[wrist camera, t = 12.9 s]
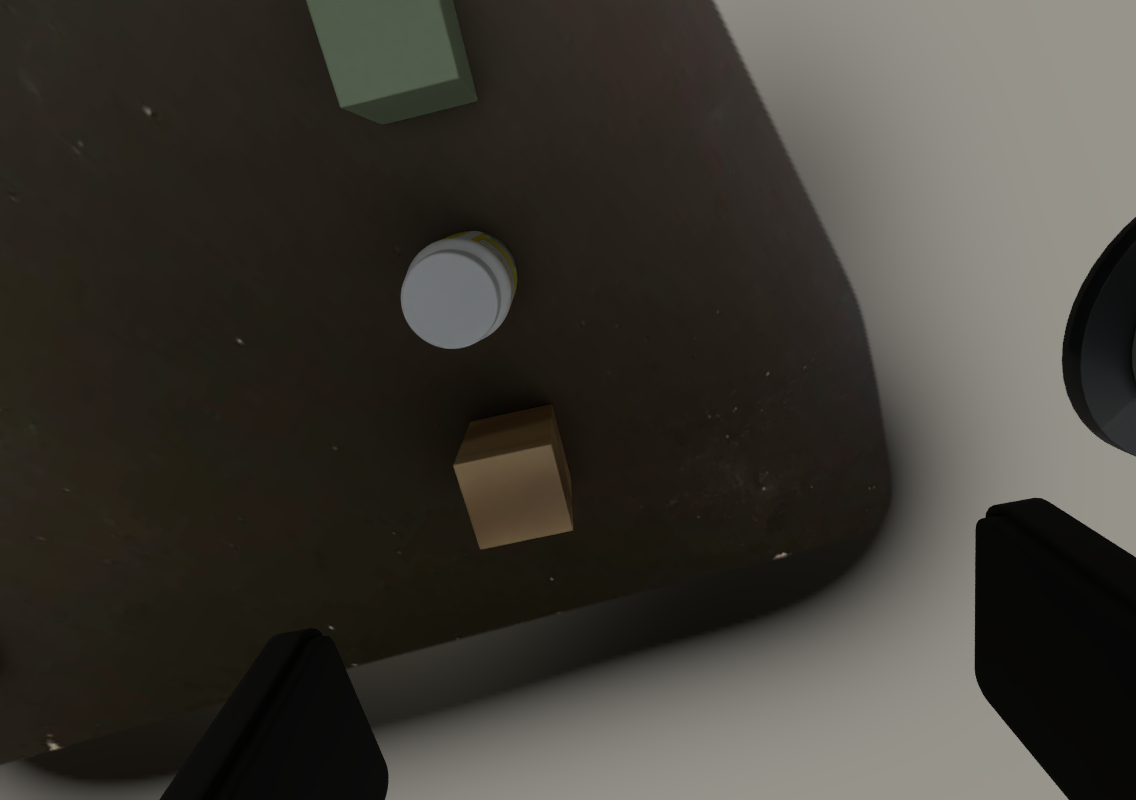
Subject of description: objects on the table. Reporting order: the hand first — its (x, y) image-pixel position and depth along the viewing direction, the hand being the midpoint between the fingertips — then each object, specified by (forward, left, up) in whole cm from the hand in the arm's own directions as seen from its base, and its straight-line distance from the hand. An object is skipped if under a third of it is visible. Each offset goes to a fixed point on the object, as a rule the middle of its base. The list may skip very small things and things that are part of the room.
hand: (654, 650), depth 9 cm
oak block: (+9, +2, -26) cm, 27 cm away
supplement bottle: (+2, -6, -26) cm, 27 cm away
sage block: (-5, -14, -26) cm, 30 cm away
